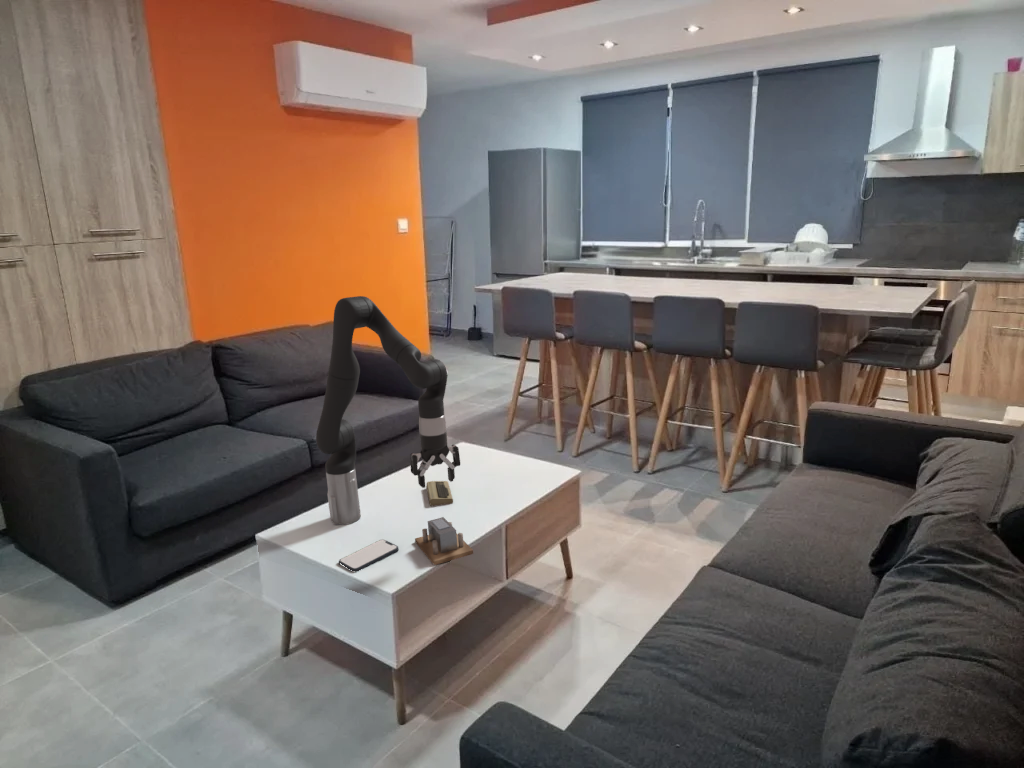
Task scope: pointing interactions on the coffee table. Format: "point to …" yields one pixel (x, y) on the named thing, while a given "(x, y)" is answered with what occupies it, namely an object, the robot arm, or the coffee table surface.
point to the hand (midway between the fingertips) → (437, 483)
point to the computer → (439, 493)
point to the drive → (443, 534)
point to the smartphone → (369, 555)
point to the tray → (434, 553)
